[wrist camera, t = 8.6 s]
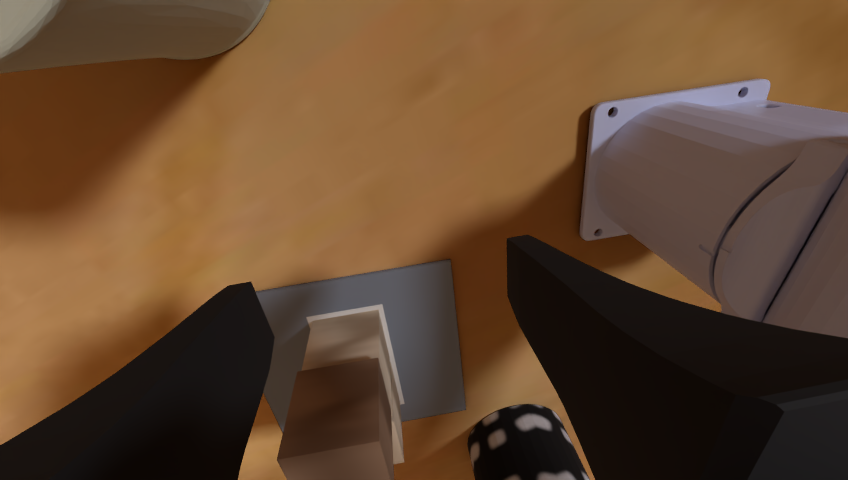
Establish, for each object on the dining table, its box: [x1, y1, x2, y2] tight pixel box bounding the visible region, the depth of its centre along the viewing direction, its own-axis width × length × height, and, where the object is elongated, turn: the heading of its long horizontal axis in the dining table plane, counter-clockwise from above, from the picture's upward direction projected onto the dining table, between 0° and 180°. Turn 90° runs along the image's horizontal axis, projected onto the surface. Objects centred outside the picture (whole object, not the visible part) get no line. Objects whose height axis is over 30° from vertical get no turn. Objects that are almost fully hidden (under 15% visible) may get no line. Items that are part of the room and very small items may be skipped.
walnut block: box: [277, 358, 394, 480], centre depth 18 cm, size 4×4×5 cm
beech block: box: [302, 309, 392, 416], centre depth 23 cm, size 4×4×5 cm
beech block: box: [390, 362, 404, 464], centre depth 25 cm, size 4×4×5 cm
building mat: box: [256, 259, 466, 432], centre depth 26 cm, size 14×14×1 cm
